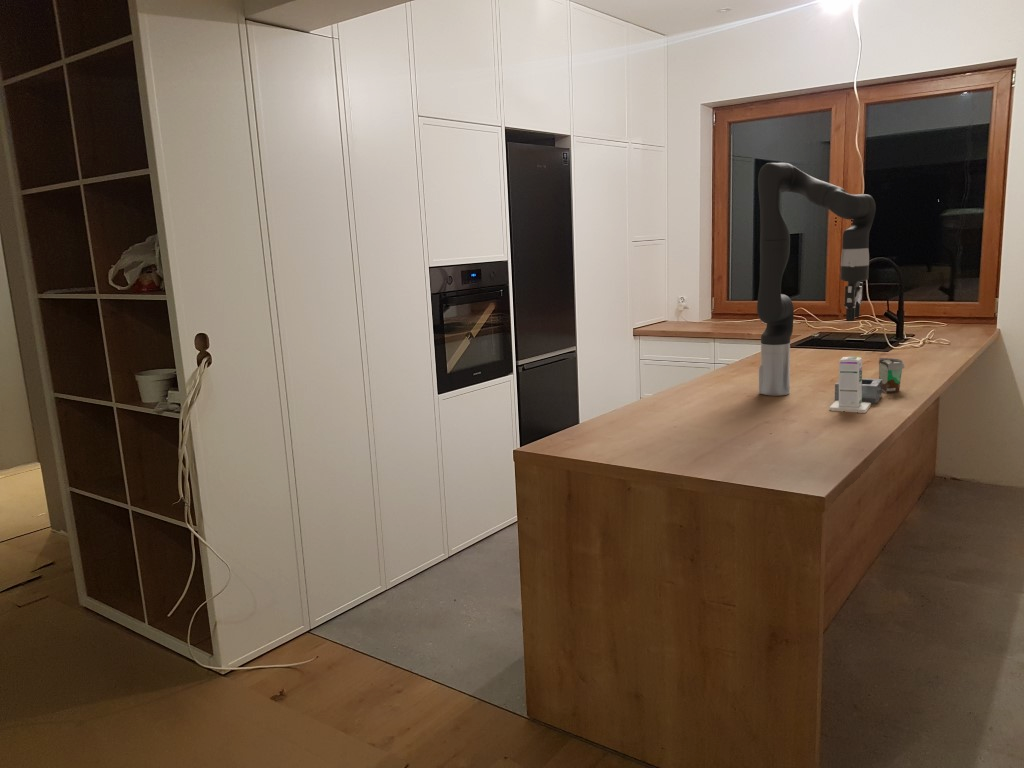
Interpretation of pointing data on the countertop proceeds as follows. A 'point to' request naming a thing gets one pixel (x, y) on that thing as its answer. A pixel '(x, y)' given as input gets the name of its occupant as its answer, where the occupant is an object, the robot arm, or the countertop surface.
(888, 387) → the food container
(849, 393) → the syrup box
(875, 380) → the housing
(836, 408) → the pad
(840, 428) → the countertop surface
